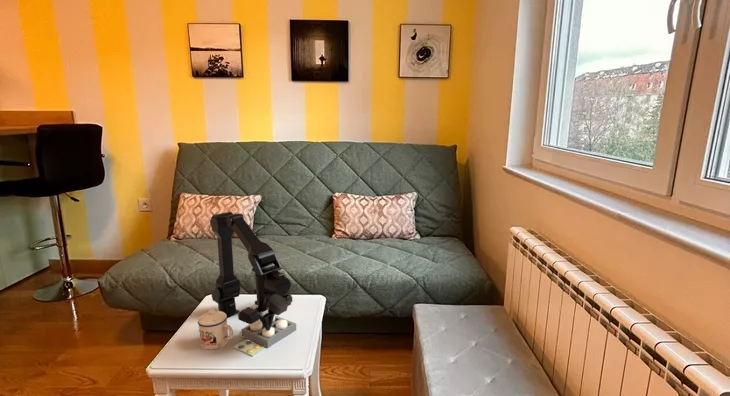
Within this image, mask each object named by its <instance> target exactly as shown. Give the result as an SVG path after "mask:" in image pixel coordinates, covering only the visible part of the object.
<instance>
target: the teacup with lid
mask: <svg viewBox="0 0 730 396" xmlns="http://www.w3.org/2000/svg"><path fill="white" fill-rule="evenodd" d="M227 320H228V318H227V315H226V314H225V313H224V312H222V311H219V310H215V309H213V308H211V309H209V310H208V312H205V313H203V314H201V316H199V317H198V319H197V324H198V331H199V339H200V340H199V341H200V347H201V348H203V349H204V350H216V349H220V348H222V347H224V346H226V345H227V343H228V342H229V339H231V338H232V336H233V334H234V330H233V327H232V326H231V325H230V324H228V321H227Z"/></svg>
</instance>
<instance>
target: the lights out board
mask: <svg viewBox="0 0 730 396" xmlns="http://www.w3.org/2000/svg"><path fill="white" fill-rule="evenodd" d="M278 320H286V321H287V326H288V327H286V328H284V329H283V330H279V329H277V328H276V324H275V323H276V321H278ZM271 327H273V328H274V332H275V334H274V335H273V336H271V337H269V338H266V337H263V336H262V330H263V329H264V328H265V327H264V326H263V324H262V330H260V331H258V332H252V331H250V324H248V325H247V326H245V327H243V328H241V329H240V330H241V331H240V332H241V337H243V338H245V339H244V340H242V341H241V342H239V343H237V344H236V345H234V346H233V348H234V349H236V350H238V351H240V352H242V353H244V354H246V355H248V356H250V357H254V356H256V355H257V354H259V353H261V352H263V351H264V350H266V349H265V347H266V348H268V349H269V348H270V347H271V346H273V345H275V344H277V343H278V342H279V341H281V340H284V338H286V337H288V336H289V335H291V334H293V333H294V332H296V331H297V323H296V322H293V321H291V320H288V319H286V318H284V317H283V318H282V317H280V316H279V315H275V322H274V323H272V325H271ZM261 345H262V346H261Z"/></svg>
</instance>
